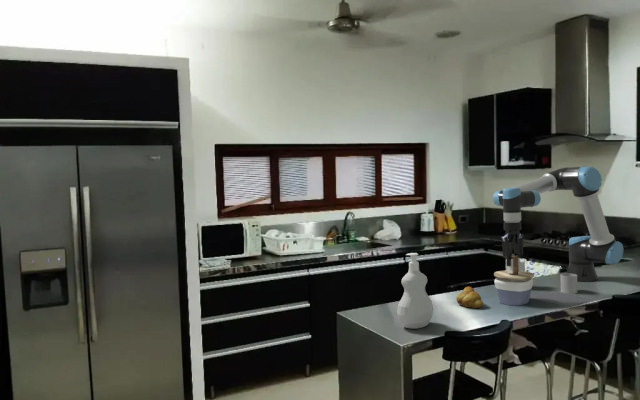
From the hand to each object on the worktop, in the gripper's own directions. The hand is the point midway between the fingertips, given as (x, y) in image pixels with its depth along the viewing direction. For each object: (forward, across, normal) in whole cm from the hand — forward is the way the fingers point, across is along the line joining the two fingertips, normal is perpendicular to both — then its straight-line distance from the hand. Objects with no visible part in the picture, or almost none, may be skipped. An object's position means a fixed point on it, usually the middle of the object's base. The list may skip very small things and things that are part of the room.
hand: (513, 272), depth 224 cm
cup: (+14, -35, +6) cm, 38 cm away
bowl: (+14, 0, 0) cm, 14 cm away
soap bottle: (+14, +58, -3) cm, 60 cm away
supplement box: (+14, -23, -16) cm, 31 cm away
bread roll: (+14, +20, -9) cm, 26 cm away
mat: (+14, -19, +10) cm, 26 cm away
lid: (+2, 0, 0) cm, 2 cm away
